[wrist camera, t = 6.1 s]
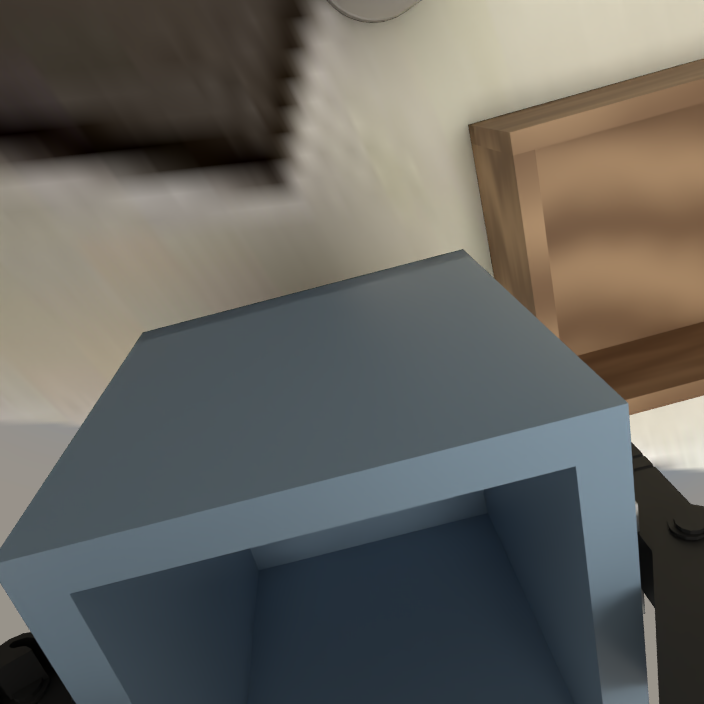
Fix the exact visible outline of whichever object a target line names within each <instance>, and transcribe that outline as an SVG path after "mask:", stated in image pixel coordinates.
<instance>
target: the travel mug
mask: <svg viewBox="0 0 704 704" xmlns="http://www.w3.org/2000/svg"><path fill="white" fill-rule="evenodd" d="M327 1H328V2H329V3H330V4H331V5H332V6H333V7H334V8H335V9H336V10H338V11H339V12H341V13H342V14H344V15H346V16H347V17H349V18H352V19H355V20H358V21H362V22H370V23H373V22H384V21H387V20H390V19H393V18H396V17H397V16H399V15H401V14H403V13H404V12H406V11H407V10H409V9H410V8H411V7H413V6H414V5H416V4H417V3H418V2H420V1H421V0H327Z"/></svg>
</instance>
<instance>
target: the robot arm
mask: <svg viewBox="0 0 704 704" xmlns="http://www.w3.org/2000/svg"><path fill="white" fill-rule="evenodd" d="M631 450H632V464H633V479H634V493H635V508H636V522H637V537H638V551H639V566H640V581H641V595H642V610H643V614H645V604H644V593H645V595H646V596H647V598H648V599H649V600H650V602H651V603H652V605H653V606H654V608H655V620H656V642H657V663H658V685H659V704H704V506H699V505H692V504H690V503H689V502H688V501H687V499H686V498H685V497H683V495H681V493H680V492H679V491H677V489H676V488H675V487H674V486H673V485H672V484H671V483H670V482H669V481H668V480H667V479H666V478H665V477H664V476H663V475H662V473H661V472H660V471H659V470H658V469H657V468H656V467H653V464H652V463H651V462H650V461H649V460H648V459H647V458H646V457H645V456H643V454H642V453H641V452H640V451H639V449H638V448H637V447H636V446H635V445H634V444H633V443H632V442H631ZM0 704H76V703H75V701H74V700H73V698H72V697H71V695H70V693H69V692H68V690H67V689H66V687H65V685H64V684H63V682H62V681H61V679H60V677H59V676H58V674H57V673H56V671H55V669H54V668H53V666H52V665H51V663H50V661H49V660H48V658H47V657H46V655H45V654H44V652H43V650H42V649H41V647H40V646H39V644H38V642H37V641H36V639H35V638H34V636H33V634H32V633H31V632H29V633H23V634H21V635H19V636H16V637H14V638H11V639H9V640H8V641H6V642H5V643H3V644H2V645H0Z"/></svg>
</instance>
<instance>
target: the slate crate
mask: <svg viewBox="0 0 704 704" xmlns="http://www.w3.org/2000/svg"><path fill="white" fill-rule="evenodd" d="M0 583H1V585H2V587H3V588H4V590H5V591H6V593H7V595H8V596H9V598H10V599H11V601H12V602H13V604H14V606H15V607H16V609H17V610H18V612H19V614H20V615H21V617H22V618H23V620H24V622H25V623H26V625H27V626H28V628H29V629H30V631H31V633H32V634H33V636H34V638H35V639H36V641H37V642H38V644H39V646H40V647H41V649H42V650H43V652H44V654H45V655H46V657H47V658H48V660H49V661H50V663H51V665H52V666H53V668H54V669H55V671H56V673H57V674H58V676H59V677H60V679H61V681H62V682H63V684H64V685H65V687H66V689H67V690H68V692H69V693H70V695H71V697H72V698H73V700H74V701H75V703H76V704H649V697H648V683H647V668H646V654H645V639H644V625H643V610H642V595H641V581H640V566H639V551H638V537H637V522H636V508H635V493H634V479H633V464H632V450H631V435H630V420H629V406H628V402H626V401H625V400H624V399H623V398H622V397H621V396H620V395H619V394H618V393H617V392H616V391H615V390H614V389H612V388H611V387H610V386H609V385H608V384H607V383H606V382H605V381H604V380H603V379H602V378H601V377H600V376H599V375H597V374H596V373H595V372H594V371H593V370H592V369H591V368H590V367H589V366H588V365H587V364H586V363H585V362H583V361H582V360H581V359H580V358H579V357H578V356H577V355H576V354H575V353H574V352H573V351H572V350H571V349H570V348H568V347H567V346H566V345H565V344H564V343H563V342H562V341H561V340H560V339H559V338H558V337H557V336H556V335H554V334H553V333H552V332H551V331H550V330H549V329H548V328H547V327H546V326H545V325H544V324H543V323H542V322H540V321H539V320H538V319H537V318H536V317H535V316H534V315H533V314H532V313H531V312H530V311H529V310H528V309H527V308H525V307H524V306H523V305H522V304H521V303H520V302H519V301H518V300H517V299H516V298H515V297H514V296H513V295H511V294H510V293H509V292H508V291H507V290H506V289H505V288H504V287H503V286H502V285H501V284H500V283H499V282H498V281H496V280H495V279H494V278H493V277H492V276H491V275H490V274H489V273H488V272H487V271H486V270H485V269H484V268H482V267H481V266H480V265H479V264H478V263H477V262H476V261H475V260H474V259H473V258H472V257H471V256H470V255H469V254H467V253H466V252H465V251H464V250H463V249H462V250H458V251H454V252H450V253H447V254H443V255H439V256H435V257H431V258H427V259H423V260H420V261H416V262H412V263H408V264H404V265H400V266H397V267H393V268H389V269H385V270H381V271H377V272H374V273H370V274H366V275H362V276H358V277H354V278H350V279H347V280H343V281H339V282H335V283H331V284H327V285H324V286H320V287H316V288H312V289H308V290H304V291H300V292H297V293H293V294H289V295H285V296H281V297H277V298H274V299H270V300H266V301H262V302H258V303H254V304H250V305H247V306H243V307H239V308H235V309H231V310H227V311H224V312H220V313H216V314H212V315H208V316H204V317H201V318H197V319H193V320H189V321H185V322H181V323H177V324H174V325H170V326H166V327H162V328H158V329H154V330H151V331H147V332H143V333H142V335H141V336H140V338H139V339H138V341H137V342H136V344H135V345H134V347H133V348H132V350H131V351H130V353H129V354H128V356H127V357H126V359H125V360H124V362H123V363H122V365H121V366H120V368H119V369H118V371H117V372H116V374H115V376H114V377H113V379H112V380H111V382H110V383H109V385H108V386H107V388H106V389H105V391H104V392H103V394H102V395H101V397H100V398H99V400H98V401H97V403H96V404H95V406H94V407H93V409H92V410H91V412H90V413H89V415H88V416H87V418H86V419H85V421H84V422H83V424H82V425H81V427H80V428H79V430H78V432H77V433H76V435H75V436H74V438H73V439H72V441H71V442H70V444H69V445H68V447H67V448H66V450H65V451H64V453H63V454H62V456H61V457H60V459H59V460H58V462H57V463H56V465H55V466H54V468H53V470H52V471H51V472H50V474H49V475H48V477H47V478H46V480H45V482H44V483H43V485H42V486H41V488H40V489H39V491H38V492H37V494H36V495H35V497H34V498H33V500H32V501H31V503H30V504H29V506H28V507H27V509H26V510H25V512H24V513H23V515H22V516H21V518H20V519H19V521H18V523H17V524H16V525H15V527H14V528H13V530H12V532H11V533H10V534H9V536H8V537H7V539H6V541H5V542H4V544H3V545H2V547H1V548H0Z"/></svg>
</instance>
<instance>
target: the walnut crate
mask: <svg viewBox="0 0 704 704" xmlns="http://www.w3.org/2000/svg"><path fill="white" fill-rule="evenodd" d="M468 126H469V132H470V138H471V144H472V150H473V155H474V161H475V167H476V173H477V179H478V185H479V191H480V197H481V203H482V208H483V214H484V220H485V226H486V232H487V238H488V244H489V250H490V256H491V261H492V267H493V273H494V279H495V280H496V281H498V282H499V283H500V284H501V285H502V286H503V287H504V288H505V289H506V290H507V291H508V292H509V293H510V294H511V295H513V296H514V297H515V298H516V299H517V300H518V301H519V302H520V303H521V304H522V305H523V306H524V307H525V308H527V309H528V310H529V311H530V312H531V313H532V314H533V315H534V316H535V317H536V318H537V319H538V320H539V321H540V322H542V323H543V324H544V325H545V326H546V327H547V328H548V329H549V330H550V331H551V332H552V333H553V334H554V335H556V336H557V337H558V338H559V339H560V340H561V341H562V342H563V343H564V344H565V345H566V346H567V347H568V348H570V349H571V350H572V351H573V352H574V353H575V354H576V355H577V356H578V357H579V358H580V359H581V360H582V361H583V362H585V363H586V364H587V365H588V366H589V367H590V368H591V369H592V370H593V371H594V372H595V373H596V374H597V375H599V376H600V377H601V378H602V379H603V380H604V381H605V382H606V383H607V384H608V385H609V386H610V387H611V388H612V389H614V390H615V391H616V392H617V393H618V394H619V395H620V396H621V397H622V398H623V399H624V400H625V401H626V402H628V406H629V415H632V414H636V413H639V412H643V411H647V410H651V409H654V408H658V407H662V406H666V405H669V404H673V403H677V402H681V401H684V400H688V399H692V398H695V397H699V396H703V395H704V59H700V60H697V61H693V62H689V63H686V64H682V65H679V66H675V67H672V68H668V69H665V70H661V71H658V72H654V73H650V74H647V75H643V76H640V77H636V78H633V79H629V80H626V81H622V82H618V83H615V84H611V85H608V86H604V87H601V88H597V89H594V90H590V91H586V92H583V93H579V94H576V95H572V96H569V97H565V98H562V99H558V100H554V101H551V102H547V103H544V104H540V105H537V106H533V107H530V108H526V109H522V110H519V111H515V112H512V113H508V114H505V115H501V116H498V117H494V118H491V119H487V120H483V121H480V122H476V123H473V124H469V125H468Z"/></svg>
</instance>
